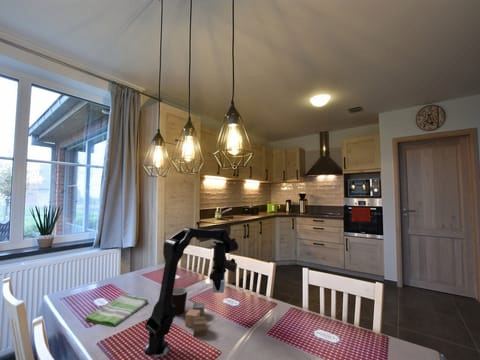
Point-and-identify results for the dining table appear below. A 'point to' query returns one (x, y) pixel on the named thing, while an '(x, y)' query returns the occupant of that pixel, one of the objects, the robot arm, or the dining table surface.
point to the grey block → (199, 307)
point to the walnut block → (199, 326)
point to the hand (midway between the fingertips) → (218, 288)
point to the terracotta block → (191, 317)
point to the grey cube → (220, 287)
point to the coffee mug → (179, 299)
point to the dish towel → (117, 310)
